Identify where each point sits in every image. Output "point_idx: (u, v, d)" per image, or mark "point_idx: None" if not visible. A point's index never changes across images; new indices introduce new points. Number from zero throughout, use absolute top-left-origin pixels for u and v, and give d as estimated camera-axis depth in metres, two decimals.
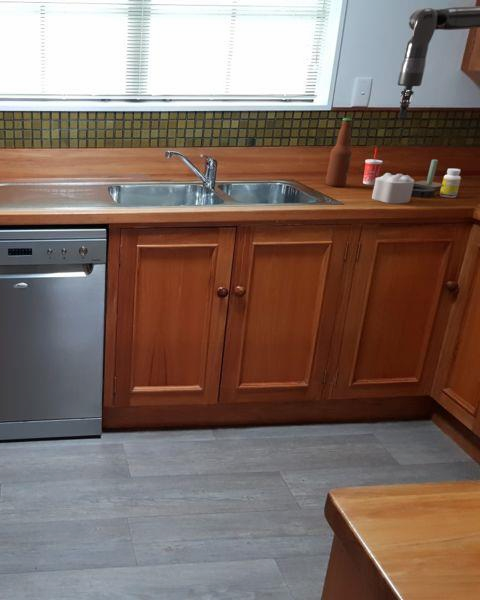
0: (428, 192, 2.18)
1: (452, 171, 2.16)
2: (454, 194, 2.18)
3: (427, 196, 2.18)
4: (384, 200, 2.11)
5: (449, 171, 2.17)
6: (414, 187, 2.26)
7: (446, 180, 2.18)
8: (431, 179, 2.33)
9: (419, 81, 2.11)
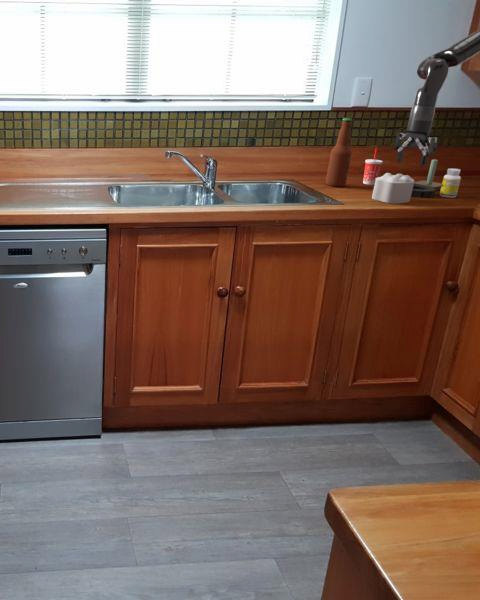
0: (428, 192, 2.18)
1: (452, 171, 2.16)
2: (454, 194, 2.18)
3: (427, 196, 2.18)
4: (384, 200, 2.11)
5: (449, 171, 2.17)
6: (414, 187, 2.26)
7: (446, 180, 2.18)
8: (431, 179, 2.33)
9: None
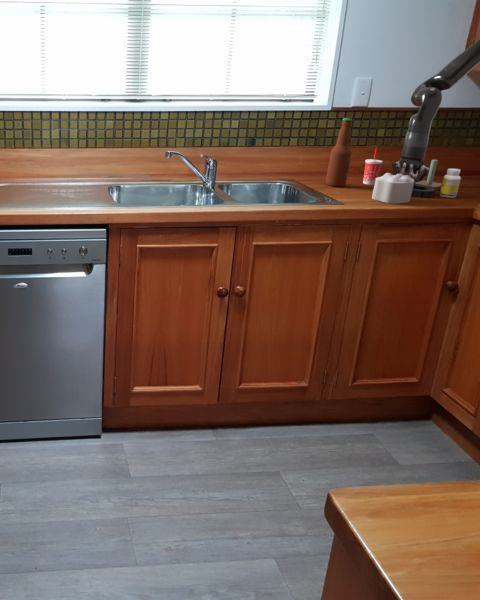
0: (428, 192, 2.18)
1: (452, 171, 2.16)
2: (454, 194, 2.18)
3: (427, 196, 2.18)
4: (384, 200, 2.11)
5: (449, 171, 2.17)
6: (414, 187, 2.26)
7: (446, 180, 2.18)
8: (431, 179, 2.33)
9: None
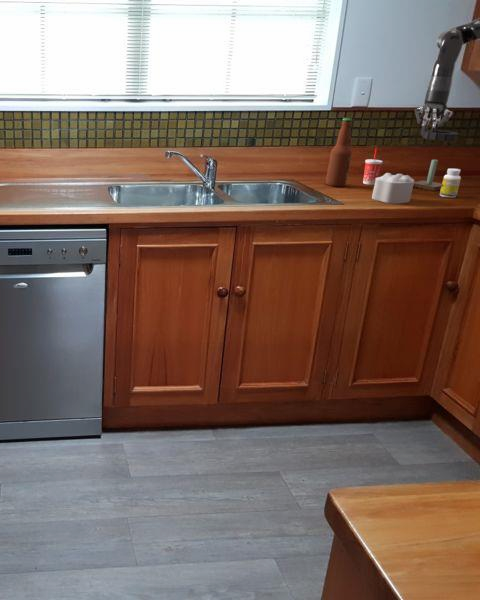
0: (451, 135, 2.21)
1: (452, 171, 2.16)
2: (454, 194, 2.18)
3: (450, 139, 2.21)
4: (384, 200, 2.11)
5: (449, 171, 2.17)
6: (437, 132, 2.29)
7: (446, 180, 2.18)
8: (431, 179, 2.33)
9: None
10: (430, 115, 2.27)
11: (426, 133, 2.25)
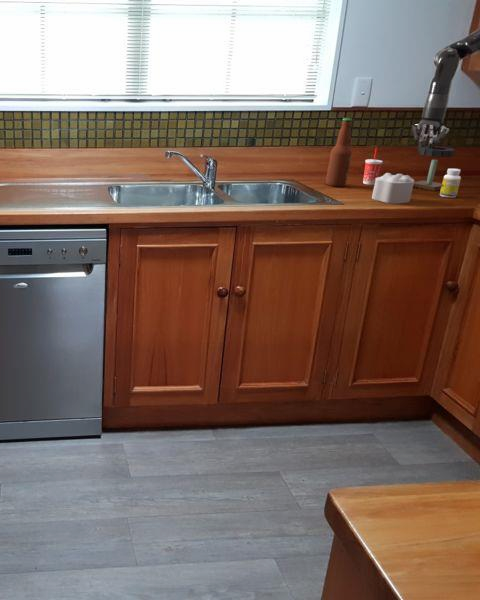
0: (448, 152, 2.24)
1: (452, 171, 2.16)
2: (454, 194, 2.18)
3: (447, 156, 2.25)
4: (384, 200, 2.11)
5: (449, 171, 2.17)
6: None
7: (446, 180, 2.18)
8: (431, 179, 2.33)
9: None
10: (427, 131, 2.30)
11: (423, 149, 2.29)
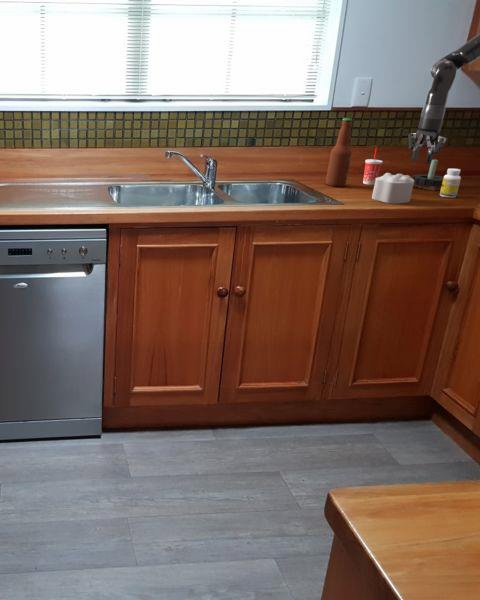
0: (440, 181, 2.29)
1: (452, 171, 2.16)
2: (454, 194, 2.18)
3: (439, 185, 2.29)
4: (384, 200, 2.11)
5: (449, 171, 2.17)
6: (426, 177, 2.37)
7: (446, 180, 2.18)
8: None
9: None
10: (422, 142, 2.32)
11: (415, 178, 2.33)
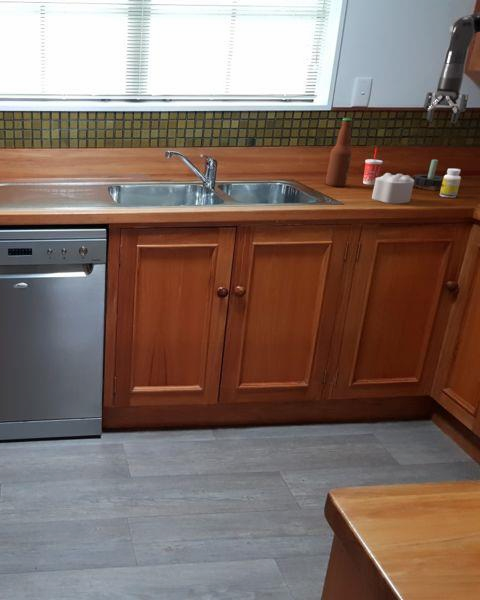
0: (440, 181, 2.29)
1: (452, 171, 2.16)
2: (454, 194, 2.18)
3: (439, 185, 2.29)
4: (384, 200, 2.11)
5: (449, 171, 2.17)
6: (426, 177, 2.37)
7: (446, 180, 2.18)
8: None
9: None
10: (439, 103, 2.27)
11: (415, 178, 2.33)
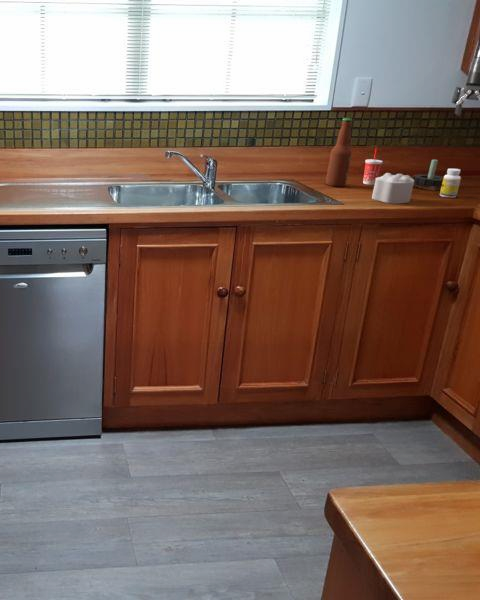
0: (440, 181, 2.29)
1: (452, 171, 2.16)
2: (454, 194, 2.18)
3: (439, 185, 2.29)
4: (384, 200, 2.11)
5: (449, 171, 2.17)
6: (426, 177, 2.37)
7: (446, 180, 2.18)
8: None
9: None
10: (468, 98, 2.27)
11: (415, 178, 2.33)
